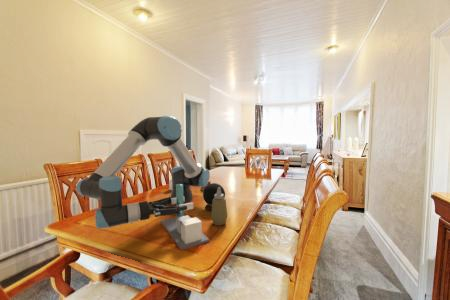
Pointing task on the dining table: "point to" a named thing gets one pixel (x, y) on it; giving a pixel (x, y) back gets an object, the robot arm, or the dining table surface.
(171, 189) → the container
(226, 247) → the dining table surface
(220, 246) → the dining table surface
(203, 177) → the robot arm
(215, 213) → the squeeze bottle
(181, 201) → the tube
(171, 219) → the socket
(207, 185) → the bell
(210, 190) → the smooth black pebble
